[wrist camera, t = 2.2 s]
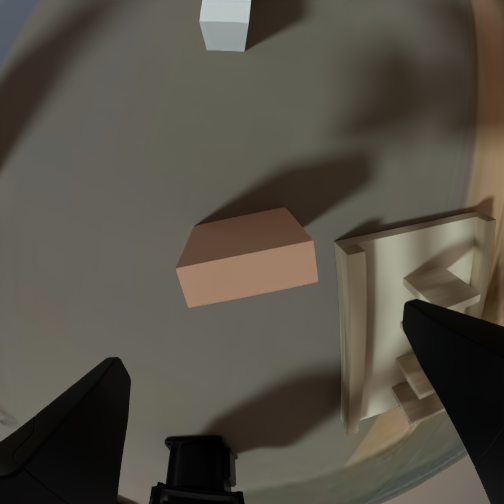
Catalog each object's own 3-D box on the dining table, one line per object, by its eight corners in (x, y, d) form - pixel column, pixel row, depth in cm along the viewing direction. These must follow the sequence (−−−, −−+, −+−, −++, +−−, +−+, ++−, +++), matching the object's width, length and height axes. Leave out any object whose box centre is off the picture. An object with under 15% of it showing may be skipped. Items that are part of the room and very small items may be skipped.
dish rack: (340, 417, 27) (356, 461, 21) (334, 241, 20) (371, 279, 14) (447, 376, 27) (472, 410, 21) (475, 211, 20) (525, 232, 14)
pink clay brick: (201, 254, 20) (188, 307, 13) (194, 225, 19) (175, 268, 13) (289, 235, 20) (318, 281, 13) (285, 207, 19) (313, 240, 13)
